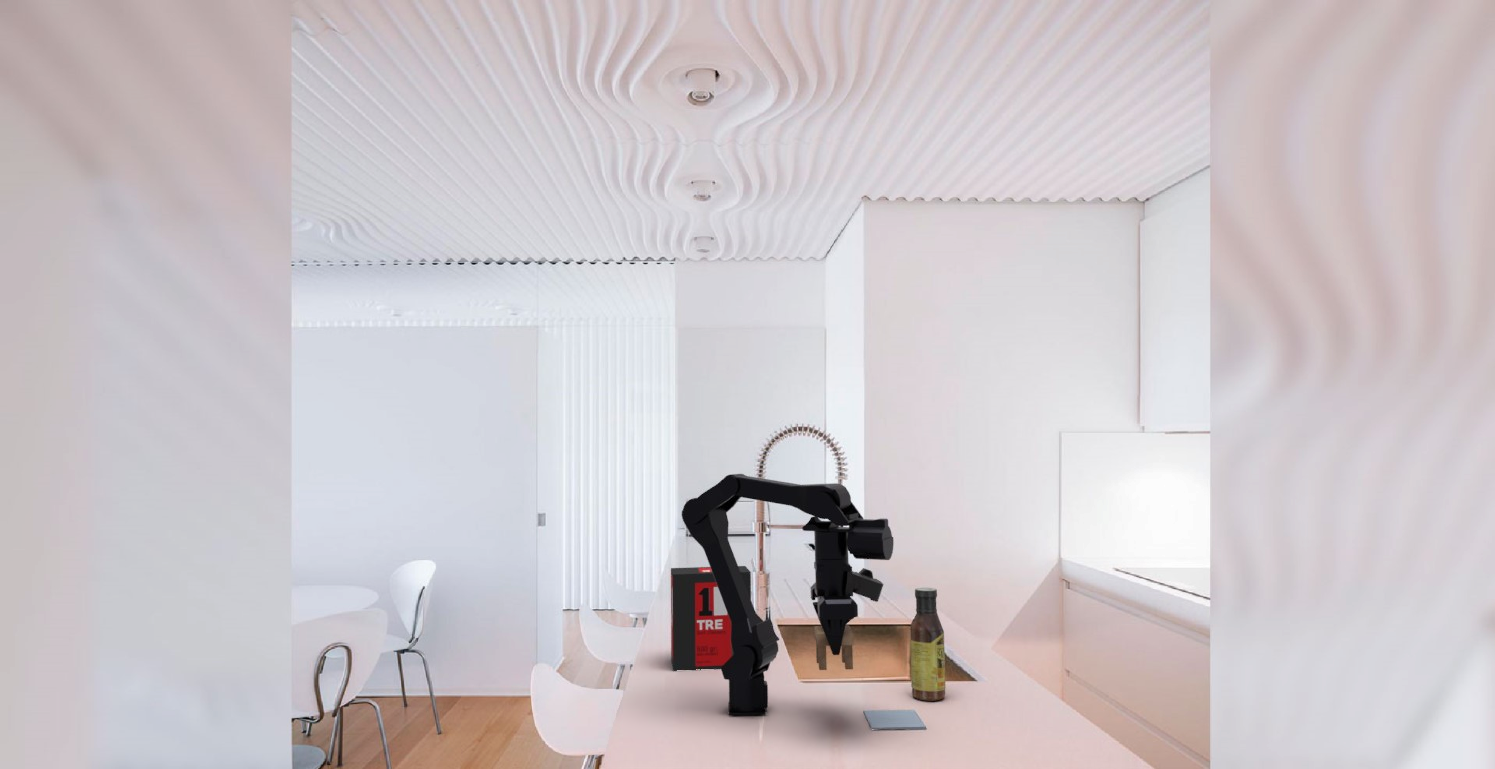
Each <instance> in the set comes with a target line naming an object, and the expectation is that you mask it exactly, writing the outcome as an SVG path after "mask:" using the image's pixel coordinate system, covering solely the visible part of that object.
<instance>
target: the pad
mask: <svg viewBox="0 0 1495 769" xmlns="http://www.w3.org/2000/svg"><path fill="white" fill-rule="evenodd" d="M863 714H864V716H866V717H865V719H866V718H867V719H866V721H867V720H868V721H867V722H869V723H868V724H870V725H869V727H870V726H871V727H870V729H871V728H872V729H911V730H927V726H926V725H925V723H924V722H923V720H922V718H921V717H920V715H919V714H918V713H917V711H916V710H915V709H878V710H877V709H876V710H871V709H870V710H869V709H868V710H863ZM872 729H871V730H872Z"/></svg>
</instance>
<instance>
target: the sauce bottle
mask: <svg viewBox="0 0 1495 769" xmlns="http://www.w3.org/2000/svg"><path fill="white" fill-rule="evenodd" d="M937 597H938V591H937V589H936V588H934V587H918V588H915V589H914V598H915V603H916V604H915V605H916V606H915V607H916V608H915V612H916V614H915V616H914V617H913V619H912V620H911V623H910V640H909V641H910V647H909V648H910V674H911V675H910V676H911V677H910V680H911V681H910V683H911V688H912V689H911V694H912V696H913V698H915V699H916V700H921V701H927V702H928V701H930V702H931V701H932V702H935V701H940V700H943V699H944V698H945V695H946V658H945V656H946V655H945V654H946V653H945V652H946V651H945V650H946V648H945V631H944V629H943V625H942V623H941V620H940V618H939V615H938V614H939V613H938V609H937Z"/></svg>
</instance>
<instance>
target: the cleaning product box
mask: <svg viewBox="0 0 1495 769" xmlns="http://www.w3.org/2000/svg"><path fill="white" fill-rule="evenodd" d="M738 567H739V570H740V573H741V575H742V578H743V581H744V583H745V586H746V588H747V591H748V594H749V596H750V599H751V600H752V580H751V579H752V578H751V577H752V575H751V574H752V572H751V571H750V570H749V568H748V567H747V566H746V565H738ZM670 653H671V655H670V656H671V657H670V660H671V661H670V662H671V665H672V672H678V671H677V670H692V671H697V670H696V669H700V670H699V671H702V670H701V669H714V670H721V667H722V666H723V665H724V664H725V663H726V662H727V661H728V660H729V659H730V658H731V657H732V656H733V651H732V646H731V621H730V618H729V616H728V613H727V610H726V608H725V605H724V602H723V600H722V597H721V594H720V592H719V589H718V586H717V584H716V581H715V578H714V575H713V573H712V570H711V567H710V566H700V567H696V566H695V567H671V568H670Z"/></svg>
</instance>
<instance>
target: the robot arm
mask: <svg viewBox="0 0 1495 769" xmlns="http://www.w3.org/2000/svg"><path fill="white" fill-rule="evenodd" d="M741 498H744V499H749V500H750V499H751V500H755V501H756V500H757V501H761V502H768V503H772V504H773V503H774V504H779V505H784V506H788V507H789V506H790V507H792V508H795V509H798V510H800V511H801V512H802V513H805V514H807V515H810V519H809V520H808V522H807V523H806V524H804V525H803V526H802V531H804V532H814V559H815V560H814V562H813V565H814V566H813V568H814V570H815V571H814V572H815V574H814V575H815V577H814V578H815V582H814V583H813V584H812V585H811V586H810V599H811V601H813V602H812V605H813V608H814V611H815V614H816V615H817V619H818V621H819V624H820V626H822V628H823V630H824V633H825V635H826V638H827V641H828V643H829V646H828V647H829V649H830V650H831V653H832V655H833V656H839V655H840V652H841V650H842V646H841V644H842V639H843V635H844V630H845V626H846V625H847V624H848V623H849V622H851V620H853V619H855V618H858V617H859V611H858V609H859V608H858V604H857V602H856V601H855V599H853V598H852V597H854V594H855V595H856V594H857V595H859V596H862V597H865V598H868V599H870V601H873V602H876V603H878V602H879V600H880V597H881V593H882V589H883V587H884V583H883V582H882V581H881V580H879V579H877V578H874V574H873V571H872V570H870V569H868V568H864V567H863V568H862V569H861V570H860V571H853V567H852V565H850V563H849V562H850V561H849V554H850V555H853V558H854V559H856V560H857V559H858V560H874V561H875V560H878V561H879V560H880V561H889V560H891V558H892V555H893V553H894V537H893V533H892V531H891V527H890V526H889V519H888V518H877V519H871V518H869V519H868V518H867V519H865V518H864V517H863V516H862V515H861V512H860V511H859V510H858V508H856V506H855V504H853V502H852V499H851V498H852V497H851V494H850V492H849V490H848V489H847V486H845V485H844V484H841V483H837V482H836V483H833V482H832V483H812V484H801V483H798V484H797V483H793V482H785V481H781V480H775V479H774V480H773V479H769V478H768V479H766V478H761V477H756V476H750V475H749V476H748V475H745V474H743V473H734V474H728V475H726V476H724V478H722V479H721V480H720V481H719V482H718V483H717V484H715V485H713V486H712V487H710V488H709V489H707V490H705V491H704V492H703V493H701V494H700V495H698V497H694V498H690V499H688V501H686V502H685V504H684V505H683V508H682V510H681V518H682V522H683V523H684V526H685V527H686V529H687V531H688V532H689V534H690V537H692V538H693V539H694V541H696V543H698V544H699V545H700V547H701V548H702V549H703V551H704V554H705V556H706V559H707V561H708V564H709V567H711V570H712V573H713V575H714V578H715V581H716V584H717V586H718V589H719V592H720V594H721V597H722V600H723V602H724V605H725V608H726V610H727V613H728V616H729V618H730V621H731V646H732V651H733V656H732V657H731V658H730V659H729V660H728V661H727V662H726V663H725V664H724V665H723V666H722V667H721V669H720V670H721V674H722V676H723V679H724V680H726V681H727V680H728V716H761V715H762V716H763V715H766V709H768V708H769V705H768V704H769V702H768V700H769V690H768V688H769V687H768V681H767V680H765V673H764V672H768V670H769V668H770V664H771V662H773V661H774V660H775V659H776V658H777V655H778V652H779V644H778V641H780V638H779V636H777V634H776V632H775V629H774V624H773V622H772V620H771V619H770V618H768V619H766V620H763V619H762V618H761V617H760V616H759V615H758V614H757V612H756V610H755V607H754V604H753V602H752V598H751V599H750V596H749V594H748V591H747V588H746V586H745V583H744V581H743V578H742V575H741V573H740V570H739V567H738V566H739V565H738V563H737V559H736V557H735V555H734V552H733V549H732V547H731V545H730V542H729V541H730V540H729V524H730V523H729V520H728V514H727V513H728V512H729V511H730V510H731V509H733V508H734V507H735V505H736V504H737V503H738V502H739V501H740V499H741ZM816 598H817V599H816ZM816 600H817V601H816Z"/></svg>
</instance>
